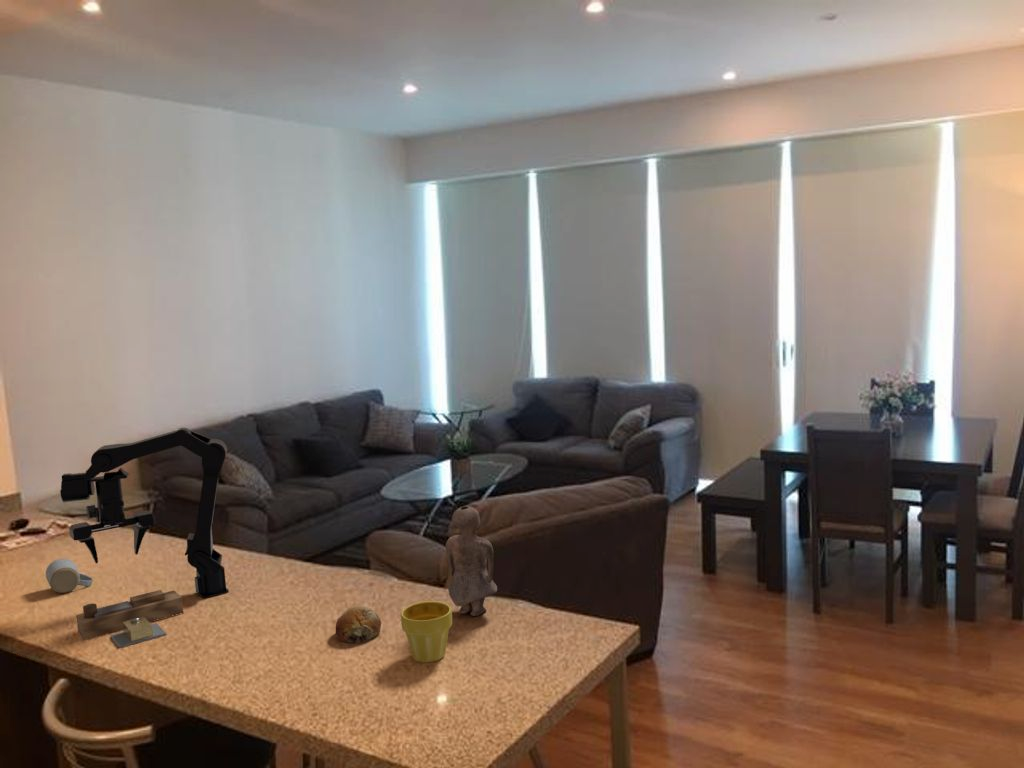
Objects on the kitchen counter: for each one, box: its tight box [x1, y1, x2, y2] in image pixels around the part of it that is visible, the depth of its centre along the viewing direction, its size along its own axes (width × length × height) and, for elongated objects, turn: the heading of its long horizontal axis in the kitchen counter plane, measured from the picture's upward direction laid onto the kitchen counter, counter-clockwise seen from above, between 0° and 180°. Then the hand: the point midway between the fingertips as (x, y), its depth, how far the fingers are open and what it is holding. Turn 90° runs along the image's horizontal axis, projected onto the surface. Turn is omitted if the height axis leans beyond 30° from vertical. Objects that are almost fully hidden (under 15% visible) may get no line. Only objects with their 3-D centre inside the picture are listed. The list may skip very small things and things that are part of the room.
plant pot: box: [400, 600, 453, 663], centre depth 176 cm, size 10×10×10 cm
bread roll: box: [335, 605, 382, 644], centre depth 189 cm, size 10×10×8 cm
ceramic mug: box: [45, 557, 94, 594], centre depth 228 cm, size 11×8×8 cm
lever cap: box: [122, 617, 153, 642], centre depth 194 cm, size 7×5×3 cm, turn 38°
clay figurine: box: [445, 505, 498, 617], centre depth 197 cm, size 13×10×25 cm
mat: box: [110, 622, 167, 649], centre depth 194 cm, size 10×8×1 cm
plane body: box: [75, 589, 184, 640], centre depth 202 cm, size 22×6×6 cm, turn 127°
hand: (116, 558), depth 213 cm, fingers open, 9 cm apart
